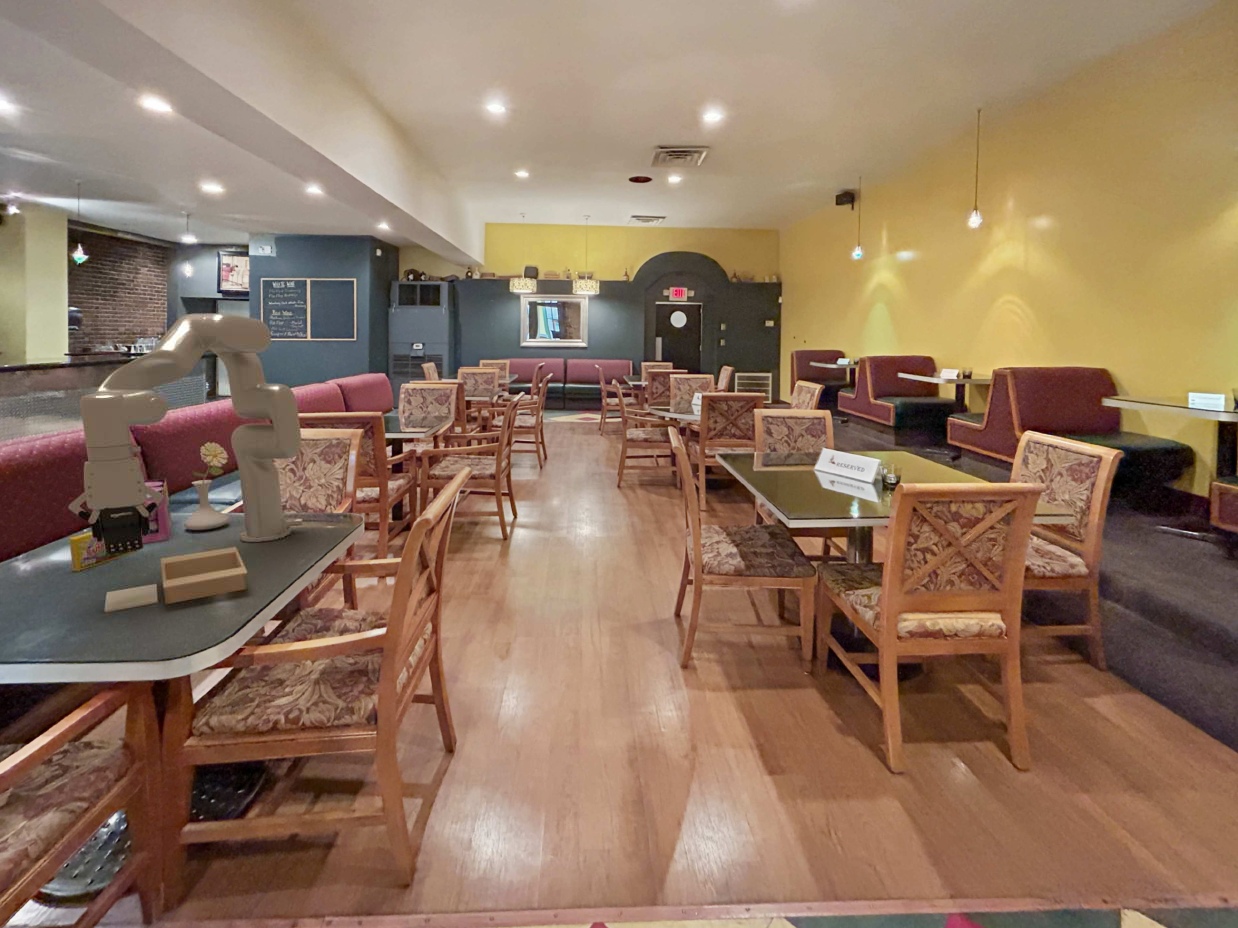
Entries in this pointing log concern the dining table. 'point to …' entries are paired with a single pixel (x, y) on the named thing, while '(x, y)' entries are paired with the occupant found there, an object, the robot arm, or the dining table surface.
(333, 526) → the dining table surface
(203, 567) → the carton
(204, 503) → the flower in vase
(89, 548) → the candy box
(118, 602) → the mat
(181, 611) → the dining table surface
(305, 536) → the dining table surface
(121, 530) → the battery charger
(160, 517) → the gum box
